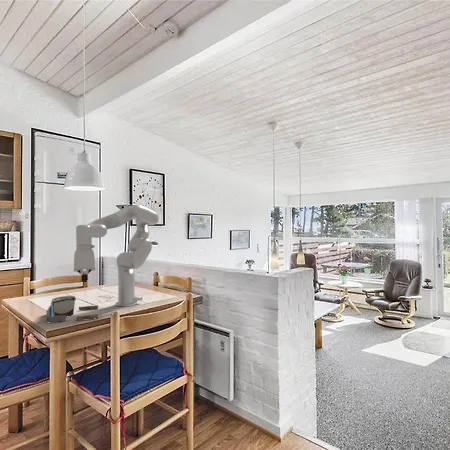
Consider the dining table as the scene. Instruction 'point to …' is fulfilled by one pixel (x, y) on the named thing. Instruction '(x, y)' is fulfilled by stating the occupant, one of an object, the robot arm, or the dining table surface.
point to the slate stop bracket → (54, 318)
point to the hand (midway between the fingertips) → (84, 281)
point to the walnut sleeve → (87, 315)
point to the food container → (63, 305)
